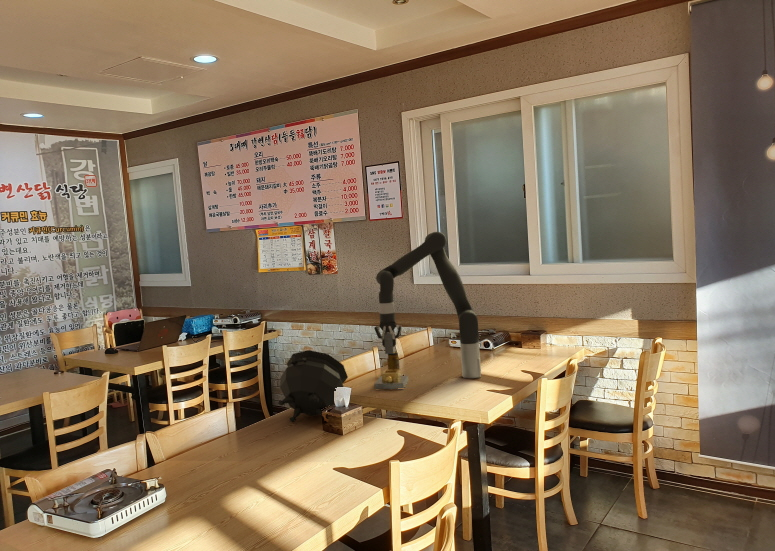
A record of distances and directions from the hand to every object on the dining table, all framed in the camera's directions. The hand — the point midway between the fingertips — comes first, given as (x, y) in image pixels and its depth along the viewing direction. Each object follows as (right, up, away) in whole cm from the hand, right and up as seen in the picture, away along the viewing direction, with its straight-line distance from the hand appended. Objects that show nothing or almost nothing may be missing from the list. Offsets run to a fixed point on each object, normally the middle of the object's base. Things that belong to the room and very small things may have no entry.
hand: (389, 346), depth 285 cm
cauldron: (-31, -25, -38) cm, 56 cm away
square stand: (+1, -19, +2) cm, 19 cm away
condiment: (+3, -18, +21) cm, 27 cm away
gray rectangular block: (0, -3, 0) cm, 3 cm away
